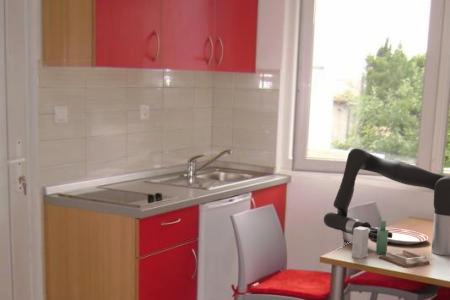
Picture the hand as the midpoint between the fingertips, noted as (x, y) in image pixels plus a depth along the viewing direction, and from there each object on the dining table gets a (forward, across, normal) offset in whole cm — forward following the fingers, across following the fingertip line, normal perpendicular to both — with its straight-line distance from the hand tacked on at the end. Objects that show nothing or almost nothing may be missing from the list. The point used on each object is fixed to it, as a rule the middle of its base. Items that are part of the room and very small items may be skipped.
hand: (384, 236), depth 253 cm
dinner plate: (-18, +26, +8) cm, 33 cm away
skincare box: (0, -13, +8) cm, 15 cm away
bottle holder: (+12, 0, +8) cm, 14 cm away
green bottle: (-1, 0, +8) cm, 8 cm away
